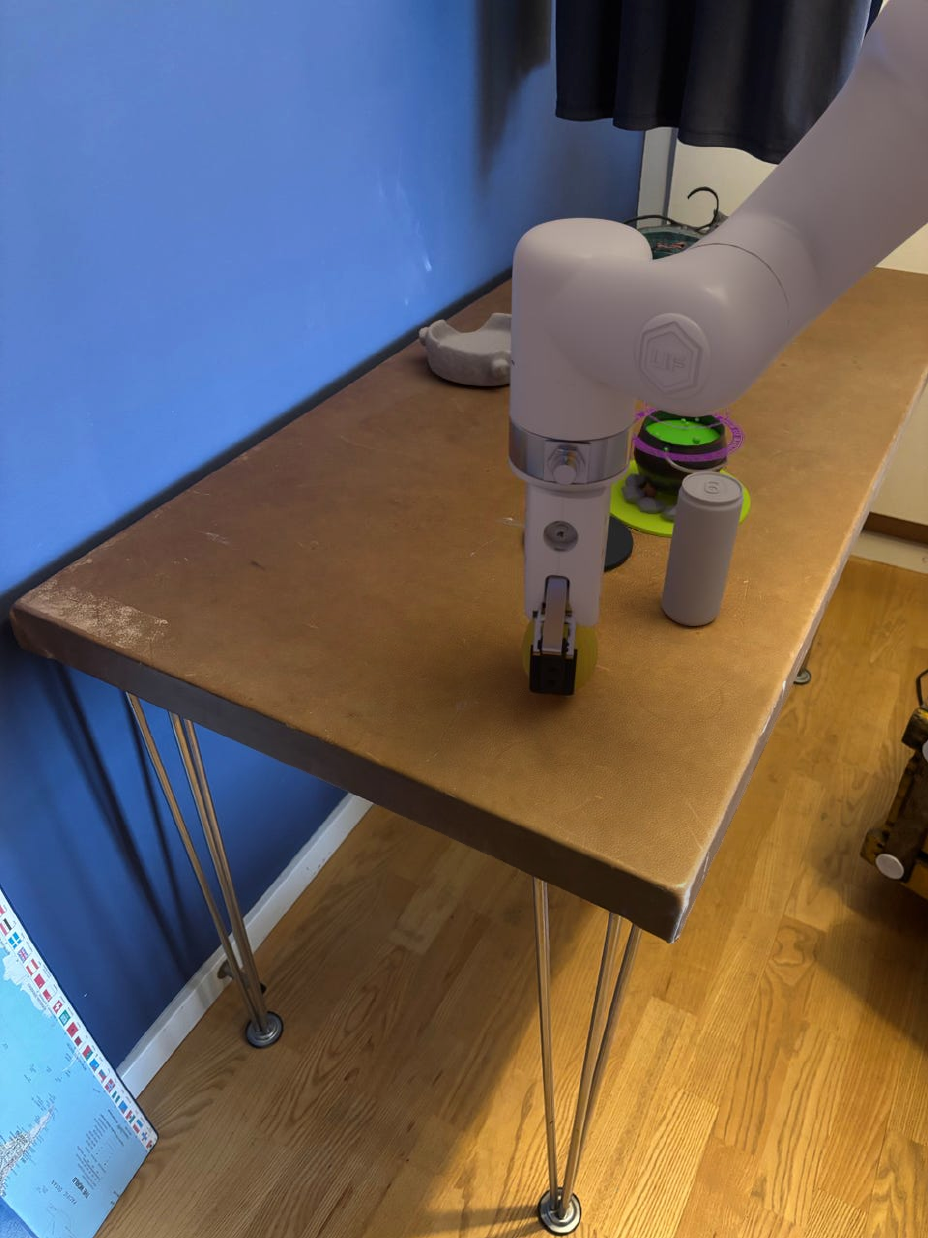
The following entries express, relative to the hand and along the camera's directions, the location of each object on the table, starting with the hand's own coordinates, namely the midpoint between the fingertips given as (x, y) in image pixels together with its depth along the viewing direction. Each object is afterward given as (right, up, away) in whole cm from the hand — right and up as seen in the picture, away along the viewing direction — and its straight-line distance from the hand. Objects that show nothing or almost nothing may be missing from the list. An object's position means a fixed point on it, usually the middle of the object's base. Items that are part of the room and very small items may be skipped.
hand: (554, 660), depth 67 cm
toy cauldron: (+14, +15, +24) cm, 32 cm away
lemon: (0, -3, +2) cm, 3 cm away
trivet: (+4, +10, +17) cm, 21 cm away
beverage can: (+12, +4, +9) cm, 16 cm away
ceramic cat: (+20, +38, +52) cm, 67 cm away
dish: (-4, +35, +48) cm, 59 cm away
